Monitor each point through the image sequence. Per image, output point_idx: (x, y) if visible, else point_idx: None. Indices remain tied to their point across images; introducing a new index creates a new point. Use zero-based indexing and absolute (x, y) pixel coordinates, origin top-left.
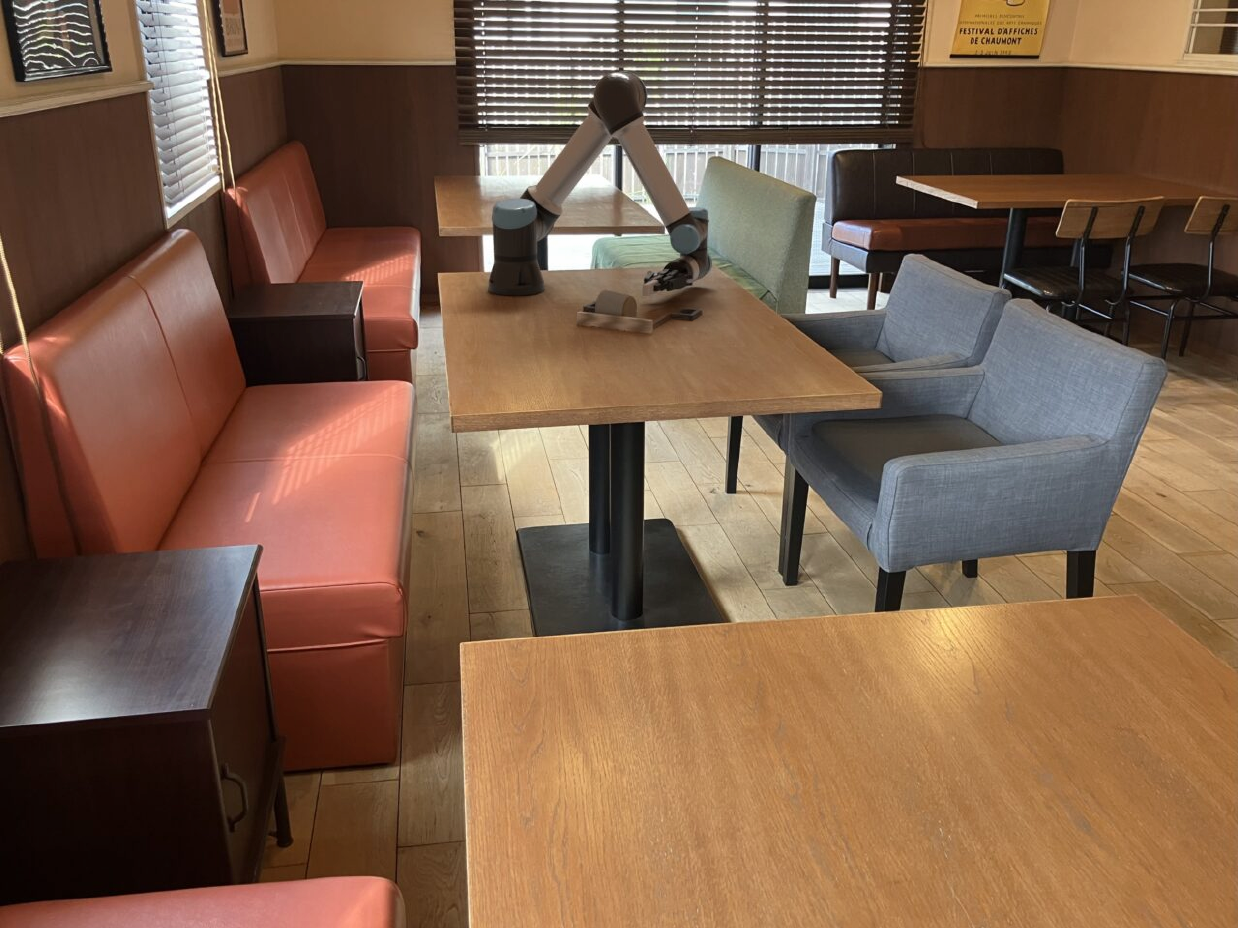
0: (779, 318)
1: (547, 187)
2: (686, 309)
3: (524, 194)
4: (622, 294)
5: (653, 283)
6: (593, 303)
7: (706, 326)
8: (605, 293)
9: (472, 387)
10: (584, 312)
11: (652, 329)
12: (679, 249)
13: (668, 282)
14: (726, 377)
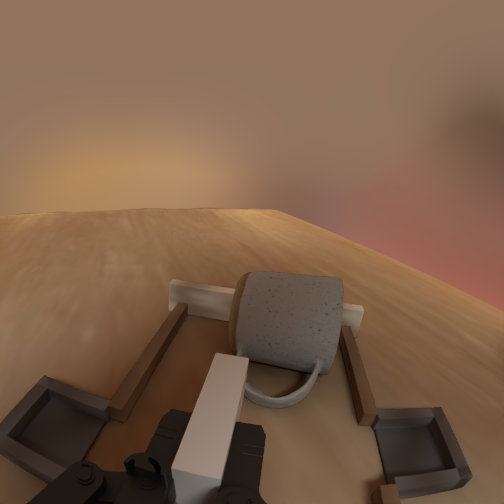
0: None
1: None
2: (41, 457)
3: None
4: (271, 273)
5: (196, 404)
6: (451, 449)
7: (30, 344)
8: (322, 276)
9: (302, 223)
10: (348, 307)
11: (169, 303)
12: None
13: (91, 465)
14: (91, 225)
